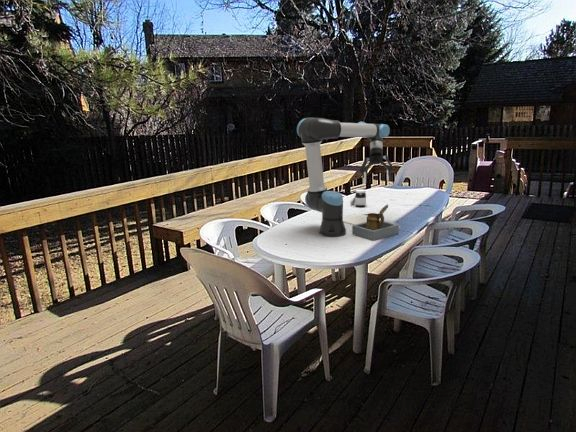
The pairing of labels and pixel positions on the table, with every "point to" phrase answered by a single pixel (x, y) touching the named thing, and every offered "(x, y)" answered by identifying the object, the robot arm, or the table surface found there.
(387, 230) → the hollow square frame
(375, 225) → the wooden mug
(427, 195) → the table surface
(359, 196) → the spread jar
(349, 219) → the cream board
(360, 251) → the table surface
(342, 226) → the robot arm
